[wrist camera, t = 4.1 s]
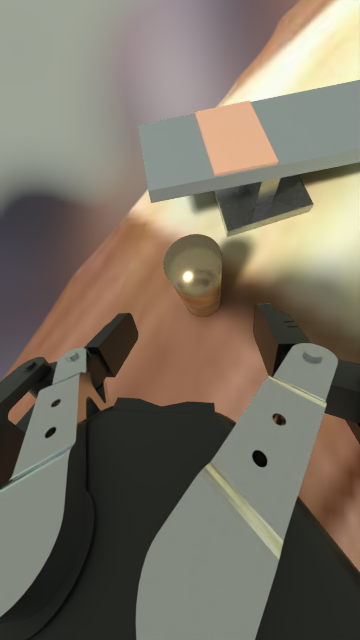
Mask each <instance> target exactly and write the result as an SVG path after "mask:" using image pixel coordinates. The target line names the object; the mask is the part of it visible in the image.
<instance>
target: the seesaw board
mask: <svg viewBox="0 0 360 640" xmlns="http://www.w3.org/2000/svg"><path fill="white" fill-rule="evenodd" d="M138 128H139V135H140V141H141V147H142V153H143V160H144V166H145V173H146V179H147V185H148V191H149V195H150V199H151V203H153V202H159V201H164V200H169V199H174V198H179V197H184V196H189V195H194V194H200V193H205V192H210V191H215V190H220V189H225V188H230V187H236V186H241V185H246V184H251V183H256V182H261V181H266V180H271V179H277V178H282V177H287V176H292V175H297V174H302V173H307V172H312V171H318V170H323V169H328V168H333V167H338V166H343V165H348V164H354V163H359V162H360V80H357V81H352V82H347V83H342V84H337V85H333V86H328V87H323V88H318V89H313V90H308V91H303V92H298V93H293V94H288V95H283V96H278V97H274V98H269V99H264V100H259V101H254V102H250V101H246V102H241V103H237V104H232V105H227V106H222V107H217V108H212V109H207V110H202V111H197V112H196V113H195V114H190V115H186V116H180V117H175V118H170V119H166V120H161V121H156V122H151V123H146V124H141V125H138Z"/></svg>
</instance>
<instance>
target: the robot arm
mask: <svg viewBox="0 0 360 640" xmlns="http://www.w3.org/2000/svg"><path fill="white" fill-rule="evenodd" d="M253 332H254V337H255V340H256V343H257V345H258V348H259V351H260V353H261V356H262V359H263V362H264V364H265V367H266V370H267V373H268V375H269V376H268V377H267V379H266V380H265V381H264V383H263V384H262V386H261V387H260V389H259V390H258V392H257V393H256V395H255V396H254V398H253V399H252V401H251V402H250V404H249V405H248V407H247V408H246V410H245V411H244V413H243V414H242V416H241V418H240V419H239V421H238V422H237V423H236V422H234V421H233V420H231V419H230V418H228V417H227V416H224V415H222V414H220V413H217V412H215V407H214V403H204V402H183V403H178V404H173V405H168V406H157V405H155V404H152V403H149V402H147V401H144V400H141V399H135V398H118V399H117V401H116V402H115V404H114V406H111V407H110V405H109V398H108V391H107V384H106V382H105V378H106V377H115V376H116V375H117V373H118V371H119V370H120V368H121V366H122V365H123V363H124V361H125V360H126V358H127V356H128V355H129V353H130V351H131V350H132V348H133V346H134V345H135V343H136V341H137V339H138V331H137V328H136V325H135V322H134V320H133V317H132V315H131V314H130V313H121V314H118V315H117V316H116V317H115V318H114V319H113V320H112V321H111V322H110V323H108V324H107V325H106V326H105V327H104V328H103V329H102V330H101V331H100V332H99V333H98V334H97V335H96V336H95V337H94V338H93V339H92V340H91V341H90V342H89V343H88V344H87V345H86V346H85V347H84V348H76V349H73V350H71V351H69V352H67V353H65V354H64V355H63V356H62V357H61V358H60V359H59V360H58V362H54V363H50V364H49V363H48V362H47V361H46V360H45V358H43V357H37V358H34V359H31V360H29V361H27V362H25V363H24V364H22V365H21V366H19V367H18V368H17V369H15V370H14V371H13V372H12V373H11V374H9V375H8V376H7V377H6V378H4V379H3V380H2V381H1V382H0V640H360V572H359V571H358V569H357V568H356V567H355V566H354V564H353V563H352V562H351V561H350V560H349V558H348V557H347V556H346V555H345V553H344V552H343V551H342V550H341V548H340V547H339V546H338V545H337V543H336V542H335V541H334V540H333V539H332V537H331V536H330V535H329V534H328V532H327V531H326V530H325V529H324V527H323V526H322V525H321V524H320V522H319V521H318V520H317V519H316V517H315V516H314V515H313V514H312V513H311V511H310V510H309V509H308V508H307V506H306V505H305V504H304V503H303V501H302V500H301V499H300V498H299V496H298V493H299V490H300V487H301V484H302V481H303V478H304V474H305V471H306V468H307V465H308V462H309V459H310V456H311V452H312V449H313V446H314V443H315V440H316V437H317V434H318V430H319V427H320V424H321V421H322V418H323V415H324V413H327V414H330V415H333V416H336V417H339V418H342V419H345V420H346V422H347V424H348V425H349V427H350V429H351V430H352V432H353V434H354V435H355V437H356V439H357V440H358V442H359V444H360V364H358V363H353V362H347V361H342V360H338V359H337V357H336V356H335V355H334V354H333V353H332V352H331V351H329V350H328V349H326V348H324V347H322V346H319V345H315V344H312V343H311V342H310V341H309V339H308V338H307V337H306V336H305V334H304V333H303V332H302V331H301V329H300V328H299V327H298V326H297V324H296V323H295V322H294V321H293V319H292V318H291V317H290V316H289V315H288V314H286V313H284V312H282V311H276V310H275V309H274V307H273V306H272V304H271V303H264V304H256V305H255V312H254V324H253ZM28 391H29V392H30V393H31V394H32V395H33V396H34V397H35V398H36V399H37V400H36V403H35V404H34V405H33V406H32V407H31V409H30V410H29V411H28V412H27V413H26V414H25V415H24V416H23V417H22V419H21V420H20V421H19V422H18V423H17V424H16V425H14V424H13V423H12V422H10V421H9V419H8V413H9V411H10V409H11V408H12V407H13V406H14V405H15V404H16V403H17V402H18V401H19V400H20V399H21V398H22V397H23V396H24V395H25V394H26V393H27V392H28ZM10 478H11V479H10Z"/></svg>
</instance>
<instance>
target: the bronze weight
mask: <svg viewBox="0 0 360 640" xmlns="http://www.w3.org/2000/svg"><path fill="white" fill-rule="evenodd" d="M163 265H164V271H165V274H166V275H167V277H168V279H169V280H170V282H171V283H172V285H173V286H174V288H175V290H176V291H177V293H178V294H179V296H180V297H181V299H182V300H183V302H184V303H185V305H186V307H187V308H188V310H189V311H190V312H191V313H192V314H193V315H195V316H198V317H207V316H210V315H212V314H214V313H215V312H216V311H217V310H218V308H219V306H220V303H221V268H222V254H221V250H220V247H219V246H218V244H217V243H216V242H215V241H214V240H213V239H211V238H210V237H208V236H205V235H200V234H193V235H188V236H185V237H182V238H180V239H179V240H177V241H176V242H174V243H173V244H172V245H171V246H170V248H169V249H168V251H167V252H166V255H165V257H164V264H163Z"/></svg>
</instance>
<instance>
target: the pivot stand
mask: <svg viewBox="0 0 360 640" xmlns="http://www.w3.org/2000/svg"><path fill="white" fill-rule="evenodd" d="M214 195H215V198H216V201H217V205H218V208H219V211H220V215H221V218H222V221H223V225H224V228H225V231H226V234H227V237H229V236H232V235H235V234H238V233H242V232H245V231H248V230H251V229H254V228H258V227H261V226H264V225H267V224H270V223H274V222H277V221H280V220H283V219H286V218H290V217H293V216H296V215H299V214H302V213H306V212H309V211H310V209H311V207H312V206H313V202H312V200H311V198H310V196H309V194H308V192H307V190H306V188H305V186H304V184H303V182H302V180H301V179H300V177H299V175H298V174H297V175H292V176H287V177H282V178H277V179H271V180H266V181H261V182H256V183H251V184H246V185H241V186H236V187H230V188H225V189H220V190H215V191H214Z"/></svg>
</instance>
